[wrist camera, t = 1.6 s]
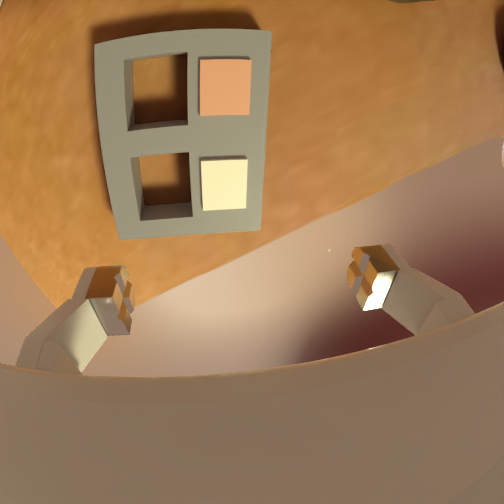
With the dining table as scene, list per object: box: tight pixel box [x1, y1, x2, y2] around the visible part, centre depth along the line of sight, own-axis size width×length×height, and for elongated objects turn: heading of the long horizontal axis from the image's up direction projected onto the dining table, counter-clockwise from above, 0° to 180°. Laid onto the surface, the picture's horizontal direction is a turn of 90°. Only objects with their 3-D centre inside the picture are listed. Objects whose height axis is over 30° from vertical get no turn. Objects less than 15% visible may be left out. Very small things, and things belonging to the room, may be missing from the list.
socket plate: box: [94, 29, 272, 240], centre depth 28 cm, size 18×24×4 cm
